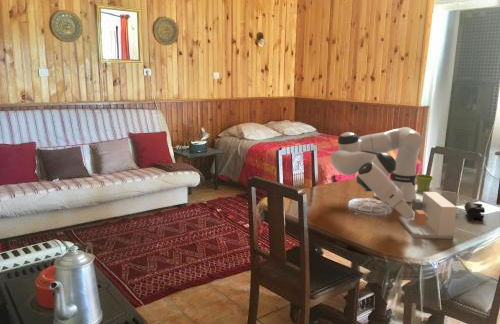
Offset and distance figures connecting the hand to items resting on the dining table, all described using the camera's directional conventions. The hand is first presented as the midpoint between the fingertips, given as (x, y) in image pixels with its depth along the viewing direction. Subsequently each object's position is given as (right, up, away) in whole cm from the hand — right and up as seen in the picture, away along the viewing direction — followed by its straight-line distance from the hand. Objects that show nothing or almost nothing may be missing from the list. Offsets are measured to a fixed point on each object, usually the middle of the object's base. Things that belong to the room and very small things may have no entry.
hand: (411, 216), depth 175 cm
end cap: (+39, -4, +24) cm, 46 cm away
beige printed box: (+32, -2, +34) cm, 46 cm away
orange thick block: (+4, -3, 0) cm, 5 cm away
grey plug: (+9, +1, +16) cm, 18 cm away
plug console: (+9, -6, +9) cm, 15 cm away
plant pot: (+34, +6, +70) cm, 78 cm away
